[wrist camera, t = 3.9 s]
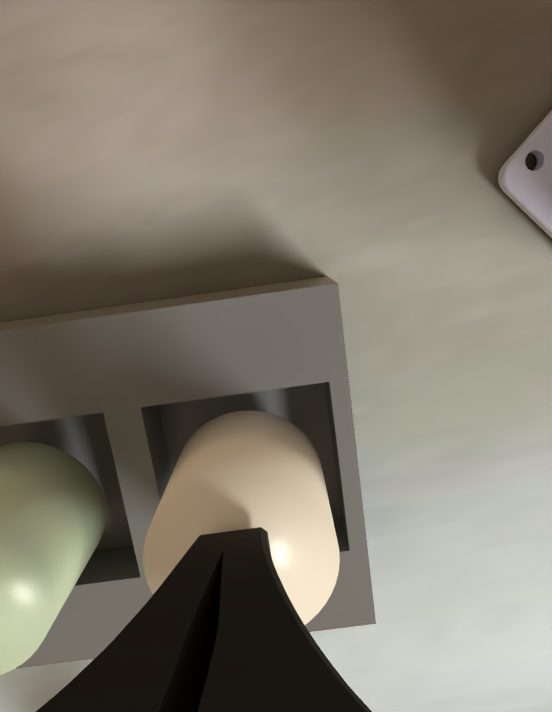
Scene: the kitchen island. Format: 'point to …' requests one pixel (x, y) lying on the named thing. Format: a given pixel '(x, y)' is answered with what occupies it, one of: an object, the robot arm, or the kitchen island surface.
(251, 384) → the grey slotted tray
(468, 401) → the kitchen island surface
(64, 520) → the sage button
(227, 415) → the cream rounded block
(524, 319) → the kitchen island surface
